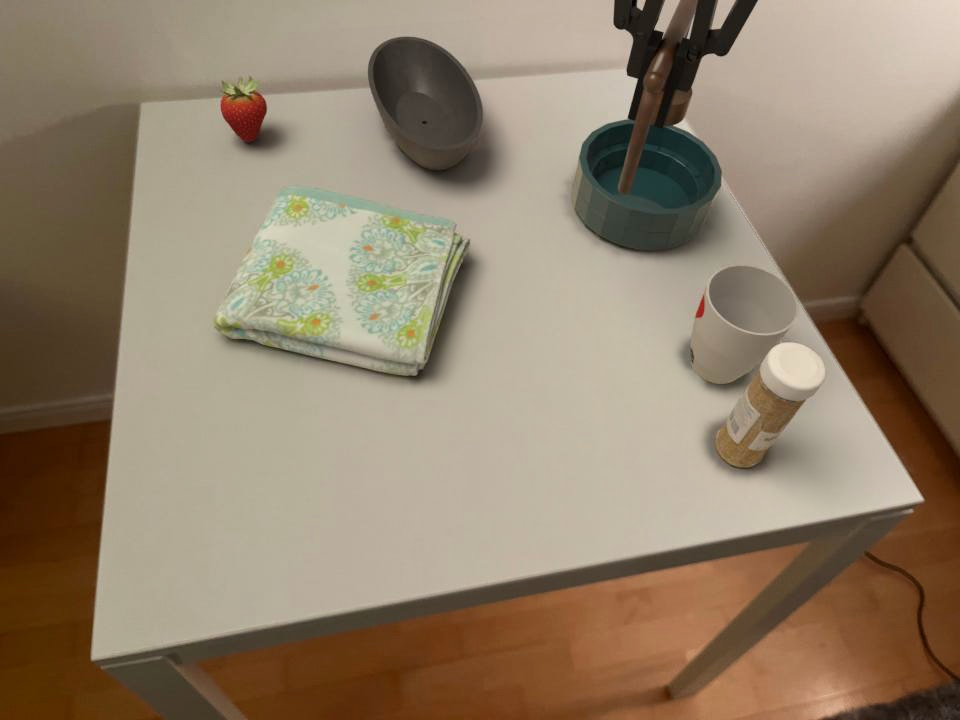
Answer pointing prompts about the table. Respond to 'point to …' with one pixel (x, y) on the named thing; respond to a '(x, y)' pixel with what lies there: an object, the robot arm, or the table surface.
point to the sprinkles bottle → (770, 403)
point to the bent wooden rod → (658, 91)
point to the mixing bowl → (646, 186)
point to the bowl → (425, 101)
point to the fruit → (243, 108)
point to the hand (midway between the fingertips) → (648, 114)
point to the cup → (739, 321)
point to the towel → (344, 281)
